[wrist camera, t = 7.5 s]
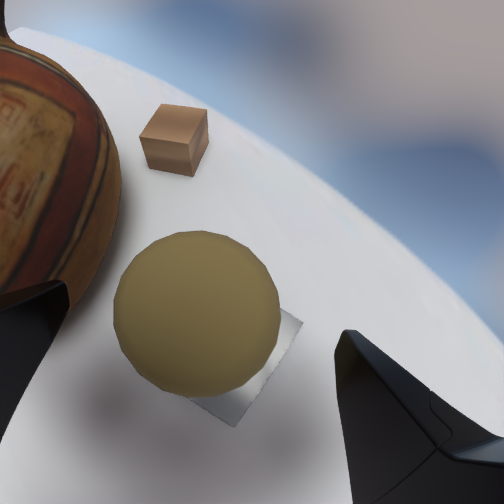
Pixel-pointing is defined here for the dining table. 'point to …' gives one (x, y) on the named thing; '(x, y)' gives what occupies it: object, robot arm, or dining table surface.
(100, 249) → the ceramic pitcher
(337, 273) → the dining table surface
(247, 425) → the dining table surface
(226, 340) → the cork
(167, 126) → the walnut block
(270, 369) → the coaster
